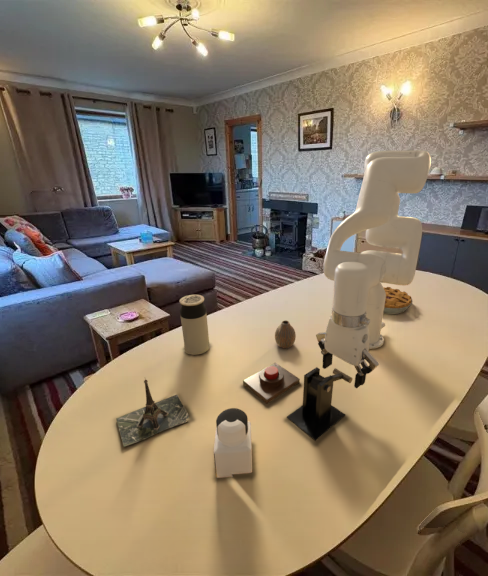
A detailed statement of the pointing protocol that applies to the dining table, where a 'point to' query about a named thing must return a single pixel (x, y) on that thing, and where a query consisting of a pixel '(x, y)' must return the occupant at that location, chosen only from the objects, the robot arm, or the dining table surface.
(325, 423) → the switch bracket
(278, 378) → the housing
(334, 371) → the switch lever
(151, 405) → the eiffel tower figurine
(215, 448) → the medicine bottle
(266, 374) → the button
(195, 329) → the travel mug
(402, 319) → the dining table surface
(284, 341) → the vase
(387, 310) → the pie
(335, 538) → the dining table surface
